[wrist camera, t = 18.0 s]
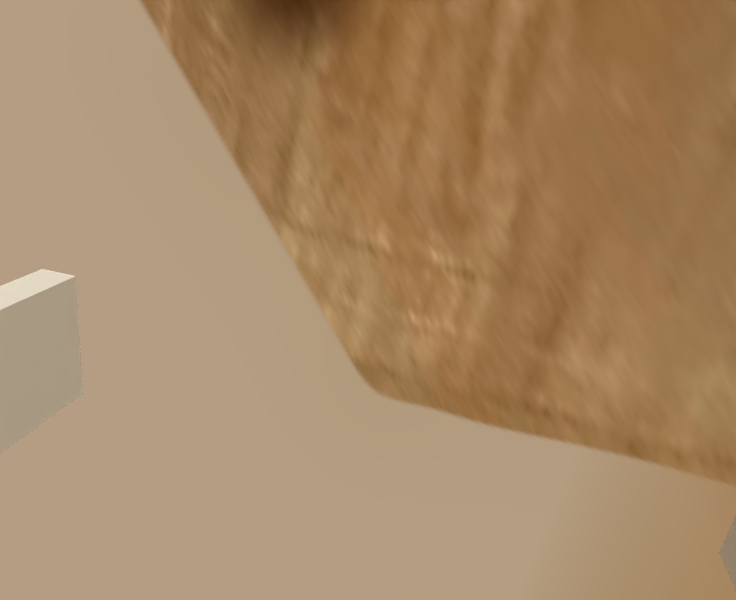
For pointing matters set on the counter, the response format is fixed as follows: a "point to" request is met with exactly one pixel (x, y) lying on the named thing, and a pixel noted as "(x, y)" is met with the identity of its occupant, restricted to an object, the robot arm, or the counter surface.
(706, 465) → the counter surface
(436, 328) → the counter surface
